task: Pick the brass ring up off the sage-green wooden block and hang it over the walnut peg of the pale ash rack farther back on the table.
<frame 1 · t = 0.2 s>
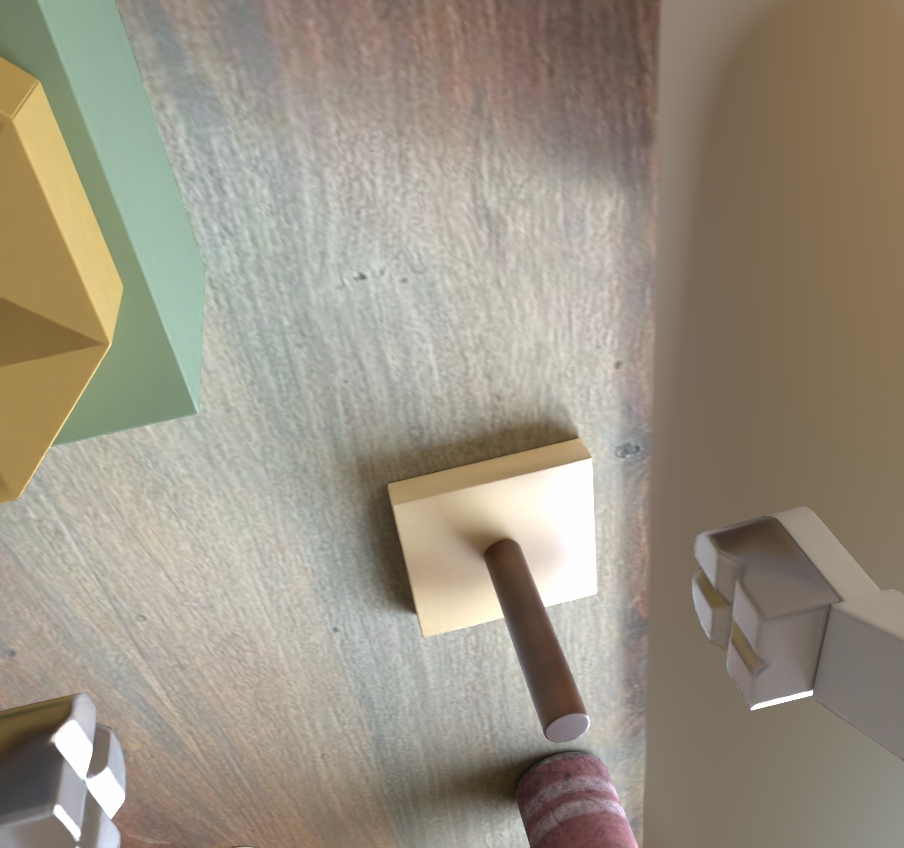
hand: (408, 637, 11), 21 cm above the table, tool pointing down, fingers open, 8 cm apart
rack: (494, 531, 41), on the table
can: (558, 775, 55), on the table
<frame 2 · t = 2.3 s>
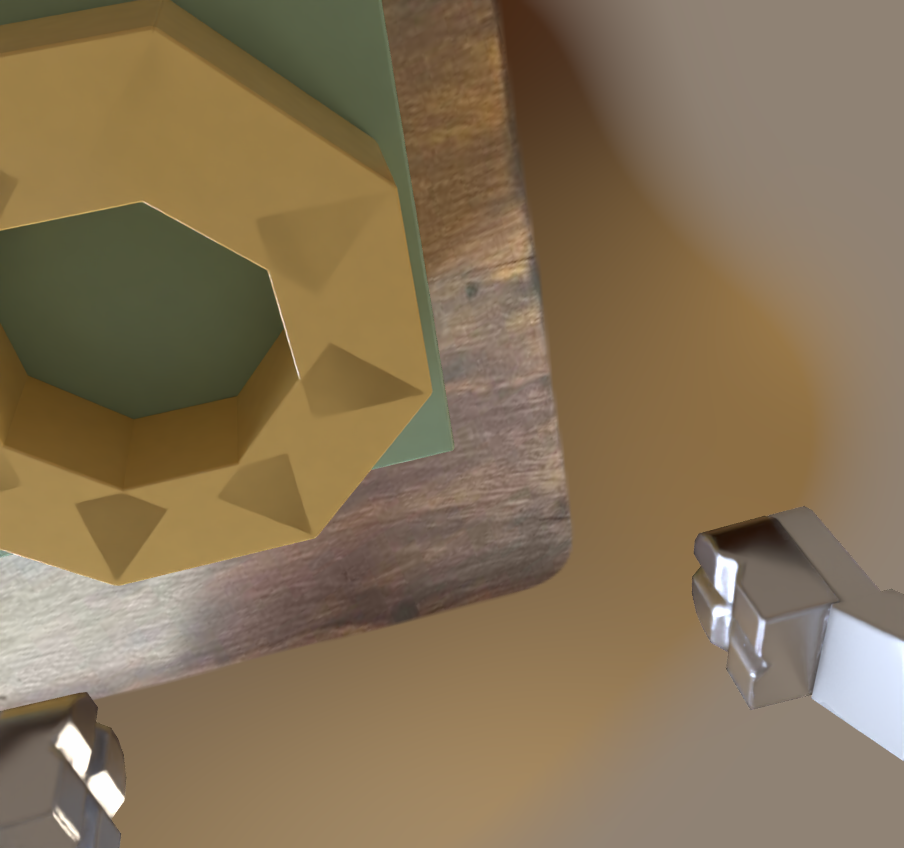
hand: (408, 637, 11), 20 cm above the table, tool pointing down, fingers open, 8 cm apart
plinth: (165, 164, 26), on the table
brass ring: (142, 297, 19), point 9 cm above the table, touching plinth
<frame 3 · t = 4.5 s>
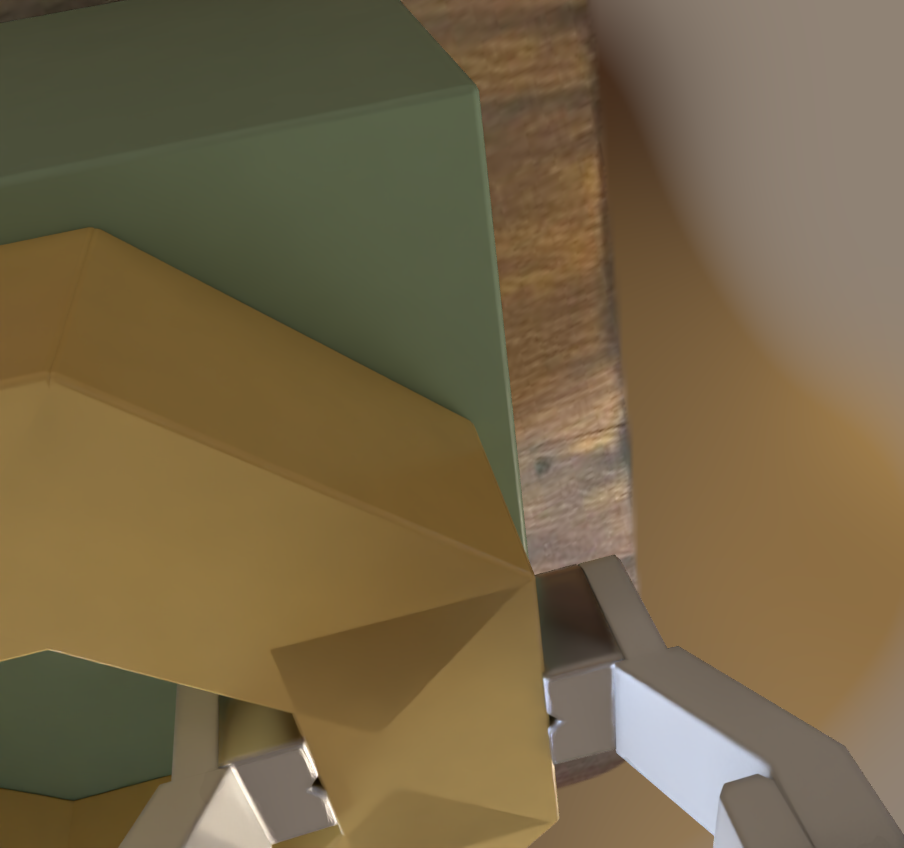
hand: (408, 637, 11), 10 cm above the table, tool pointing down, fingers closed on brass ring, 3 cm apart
plinth: (131, 336, 19), on the table
brass ring: (79, 657, 12), point 9 cm above the table, touching gripper, plinth
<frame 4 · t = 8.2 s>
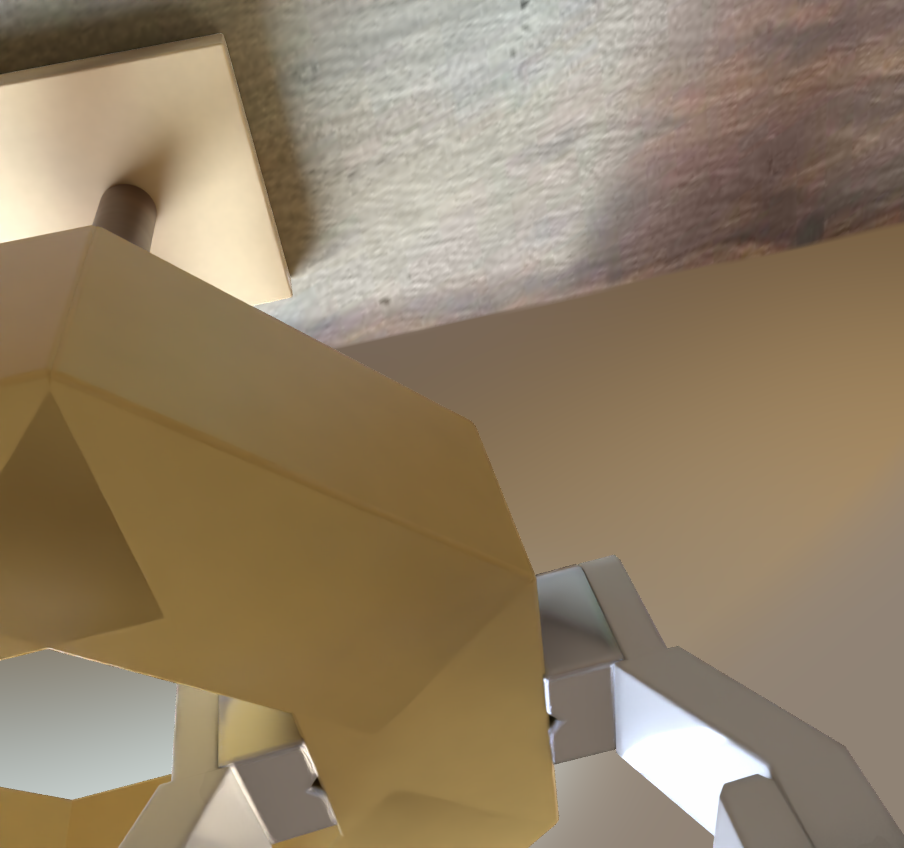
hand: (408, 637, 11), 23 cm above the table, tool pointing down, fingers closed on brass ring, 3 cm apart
rack: (132, 193, 30), on the table
brass ring: (78, 656, 12), point 22 cm above the table, touching gripper
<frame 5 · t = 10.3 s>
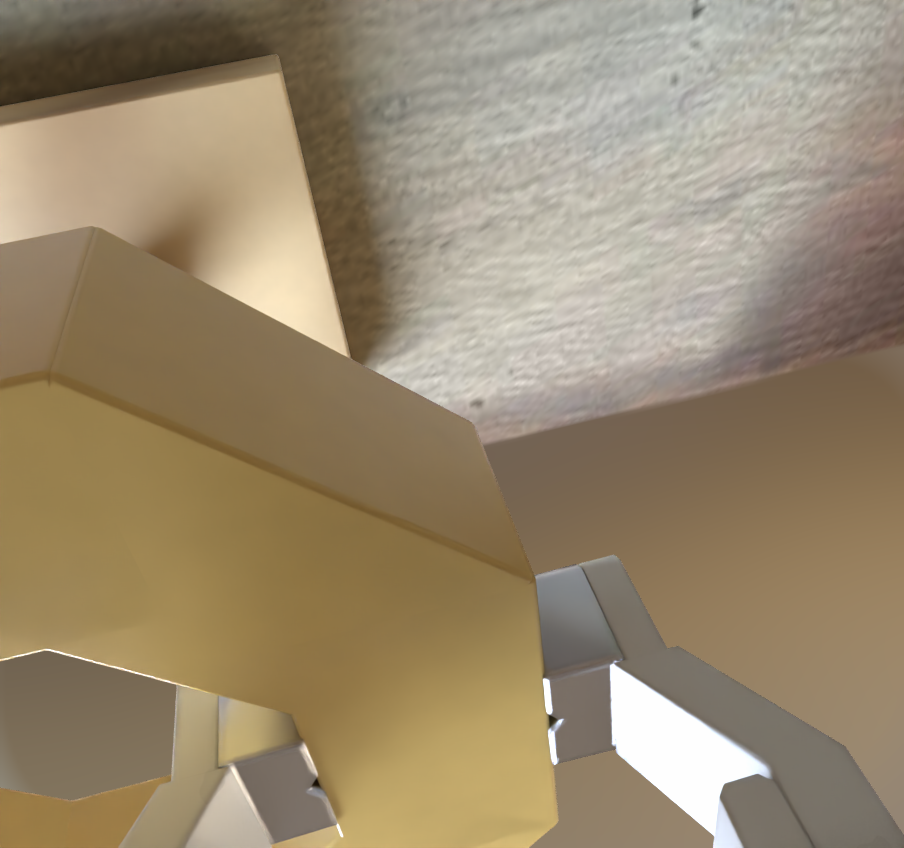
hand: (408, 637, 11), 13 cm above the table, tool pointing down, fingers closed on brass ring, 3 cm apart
rack: (145, 274, 21), on the table
brass ring: (78, 656, 12), point 12 cm above the table, touching gripper
when the fingers open (9 cm above the table, at t = 12.0 s): brass ring drops 6 cm, resting on rack.
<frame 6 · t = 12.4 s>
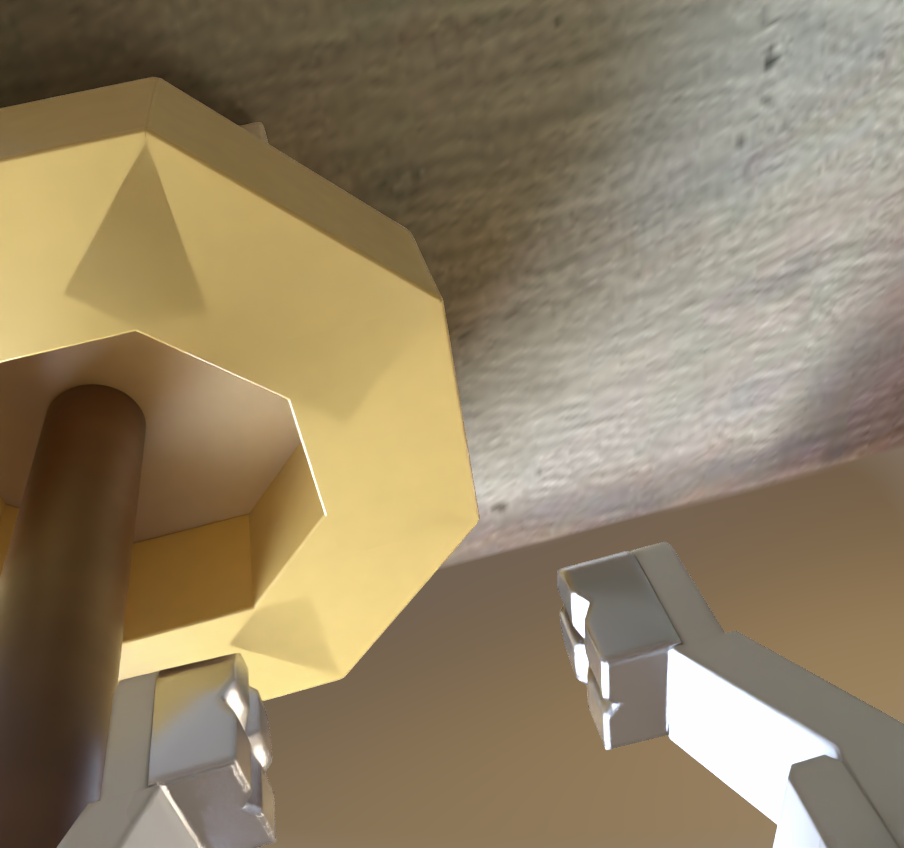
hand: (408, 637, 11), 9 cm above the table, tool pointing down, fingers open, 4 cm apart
rack: (104, 381, 18), on the table
brass ring: (137, 414, 17), point 1 cm above the table, touching rack
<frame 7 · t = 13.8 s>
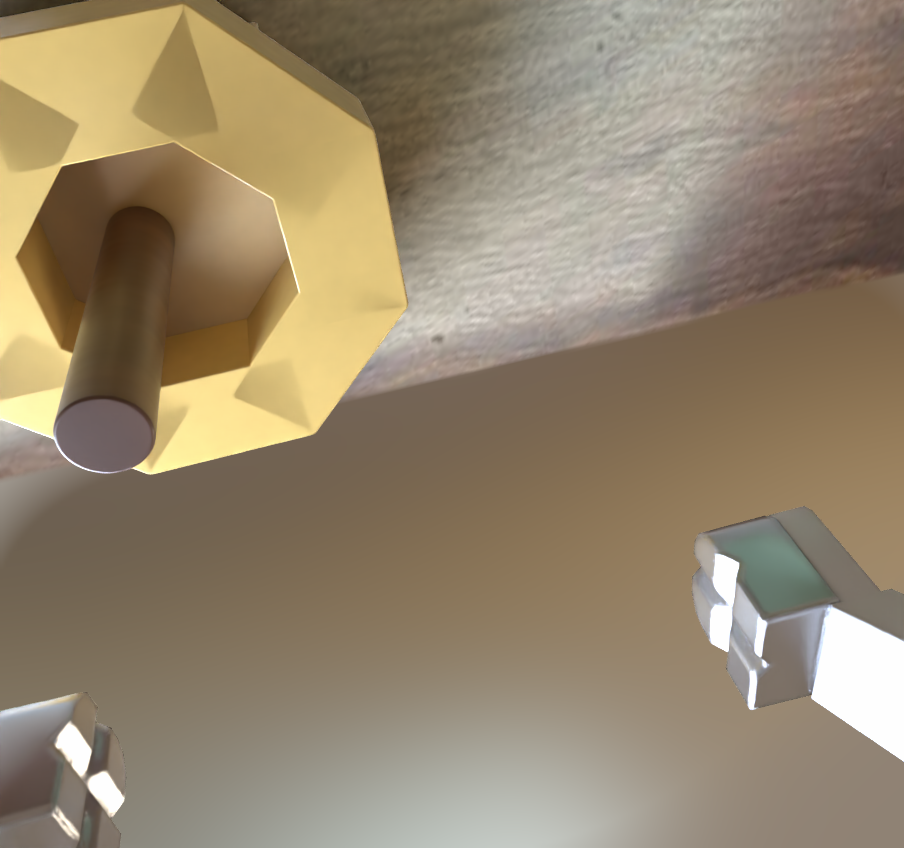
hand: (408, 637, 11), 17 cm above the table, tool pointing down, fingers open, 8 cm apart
rack: (144, 216, 25), on the table
brass ring: (169, 231, 24), point 1 cm above the table, touching rack
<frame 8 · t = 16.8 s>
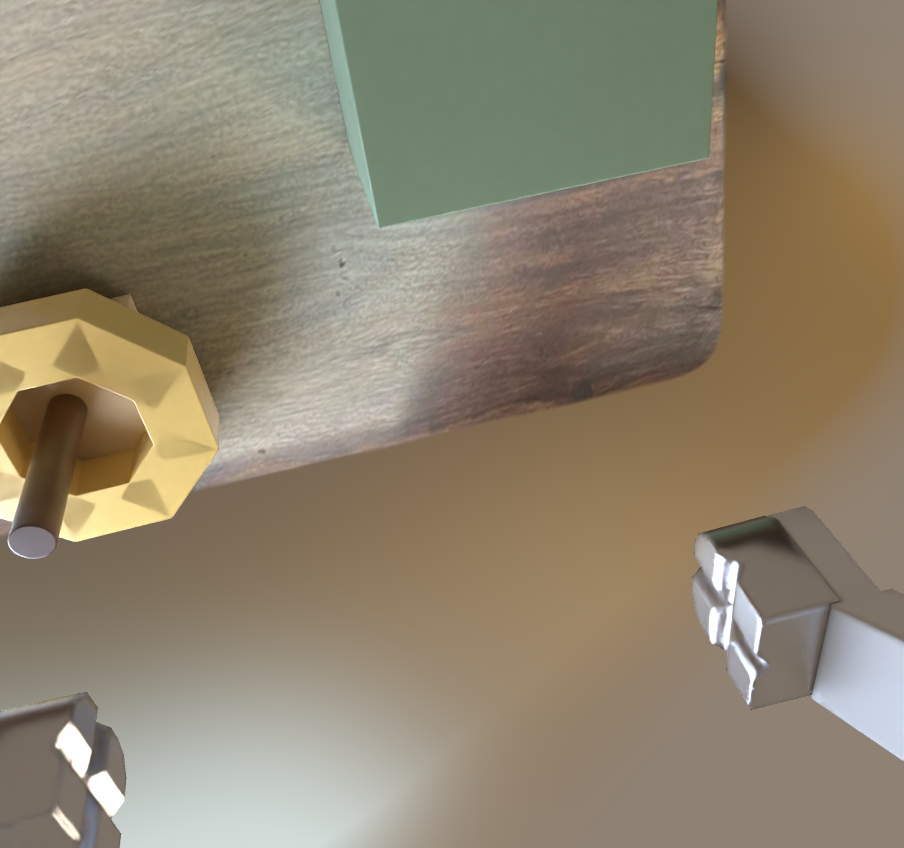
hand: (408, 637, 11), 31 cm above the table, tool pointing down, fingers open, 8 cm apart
rack: (72, 391, 43), on the table
brass ring: (84, 405, 41), point 1 cm above the table, touching rack
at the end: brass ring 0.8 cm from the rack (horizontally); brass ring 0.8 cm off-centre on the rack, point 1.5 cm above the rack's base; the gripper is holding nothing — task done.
